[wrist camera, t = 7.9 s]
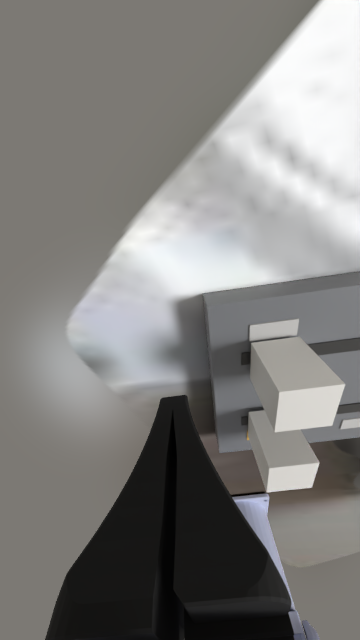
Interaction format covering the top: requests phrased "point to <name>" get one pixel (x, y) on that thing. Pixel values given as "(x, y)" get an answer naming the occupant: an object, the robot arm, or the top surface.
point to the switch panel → (279, 323)
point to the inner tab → (281, 455)
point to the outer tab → (294, 384)
